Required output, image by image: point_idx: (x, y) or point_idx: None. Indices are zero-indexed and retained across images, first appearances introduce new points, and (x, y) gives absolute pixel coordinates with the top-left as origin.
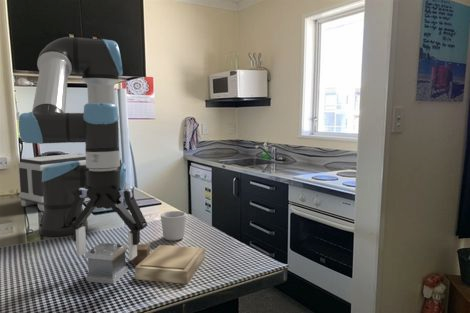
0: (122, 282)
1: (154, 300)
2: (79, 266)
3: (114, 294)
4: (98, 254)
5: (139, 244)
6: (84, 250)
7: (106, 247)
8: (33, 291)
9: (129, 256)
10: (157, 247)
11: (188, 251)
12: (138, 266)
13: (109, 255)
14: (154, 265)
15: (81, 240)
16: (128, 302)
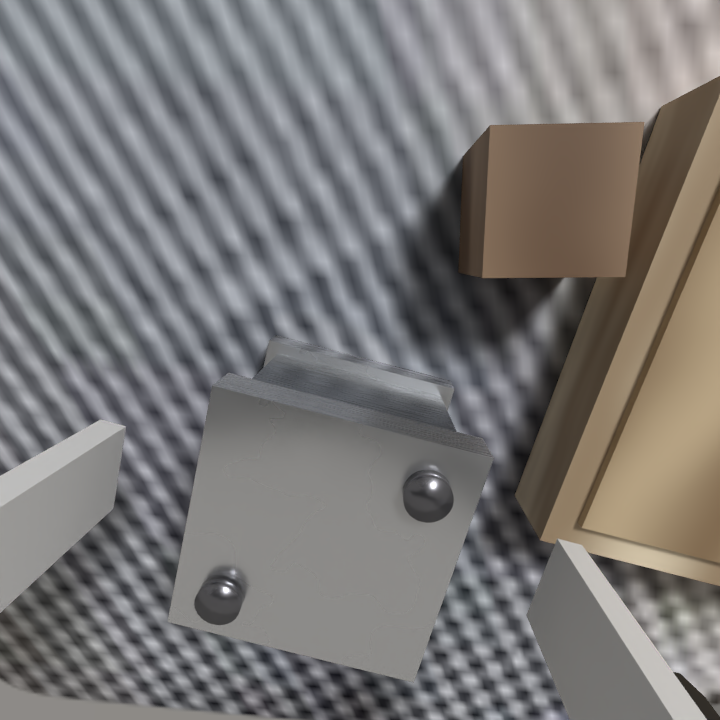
0: None
1: None
2: (105, 284)
3: (433, 633)
4: (289, 649)
5: (538, 127)
6: (108, 459)
7: (307, 516)
8: None
9: (539, 635)
10: (704, 147)
11: None
12: (562, 530)
13: (387, 671)
14: (681, 550)
15: (25, 559)
16: (513, 701)
